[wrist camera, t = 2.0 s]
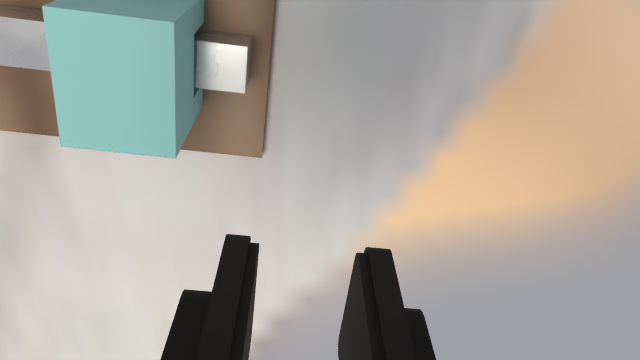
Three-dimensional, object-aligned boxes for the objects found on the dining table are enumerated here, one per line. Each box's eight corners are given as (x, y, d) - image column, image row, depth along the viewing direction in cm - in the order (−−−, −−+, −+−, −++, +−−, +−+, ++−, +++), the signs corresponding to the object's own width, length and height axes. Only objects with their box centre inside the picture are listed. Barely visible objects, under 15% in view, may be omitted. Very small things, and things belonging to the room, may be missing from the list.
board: (280, -64, 25) (279, -62, 25) (262, 151, 31) (261, 157, 30) (-239, -136, 23) (-256, -137, 23) (-155, 107, 29) (-166, 112, 29)
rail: (252, 35, 27) (247, 46, 25) (249, 78, 28) (244, 93, 26) (-171, -18, 25) (-215, -10, 23) (-156, 31, 26) (-196, 42, 24)
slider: (204, -6, 26) (174, 22, 20) (202, 106, 28) (175, 158, 23) (102, -19, 25) (42, 6, 19) (110, 95, 28) (60, 146, 22)
